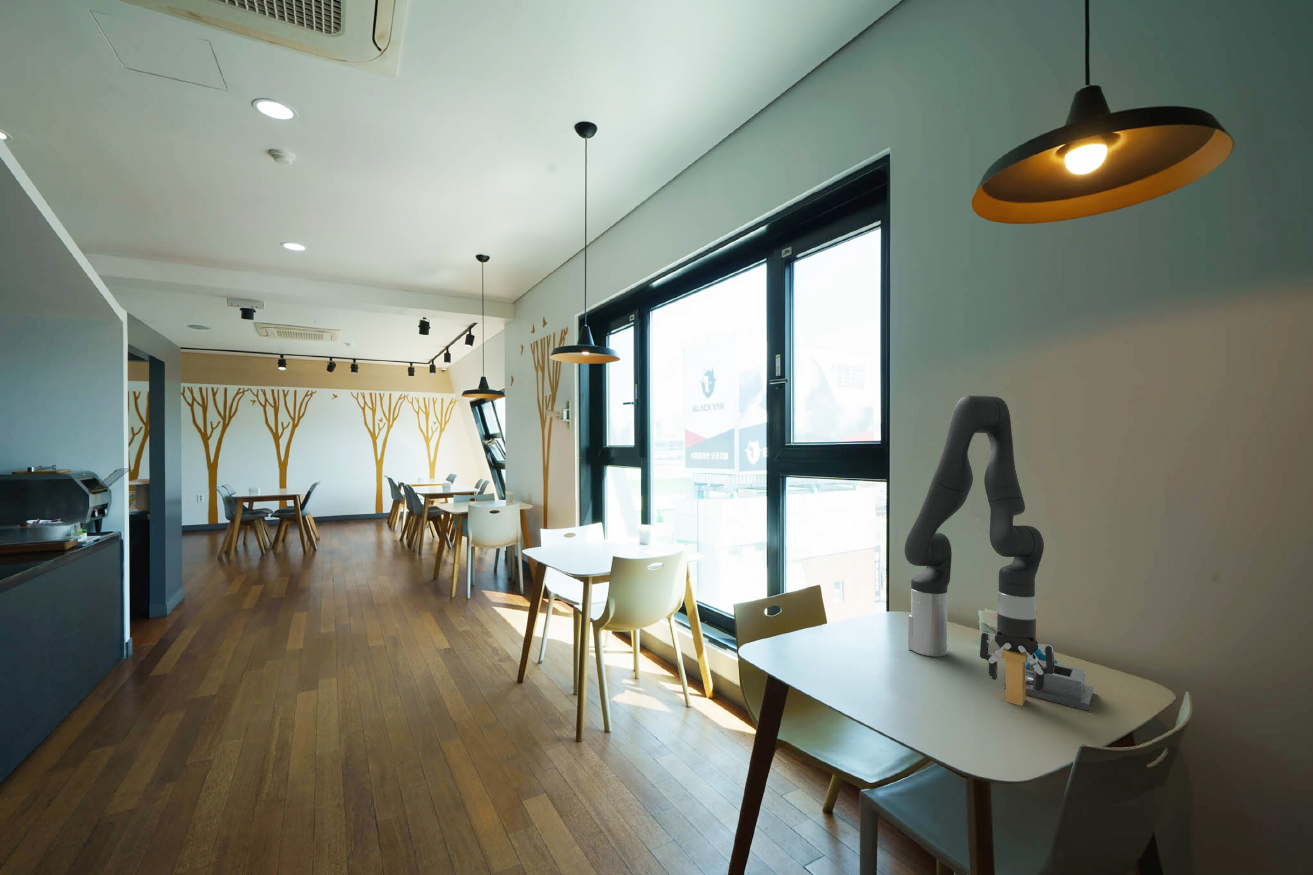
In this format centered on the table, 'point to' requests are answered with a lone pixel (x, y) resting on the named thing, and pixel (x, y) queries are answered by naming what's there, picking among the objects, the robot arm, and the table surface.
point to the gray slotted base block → (1062, 687)
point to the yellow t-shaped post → (1015, 677)
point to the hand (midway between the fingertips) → (1016, 684)
